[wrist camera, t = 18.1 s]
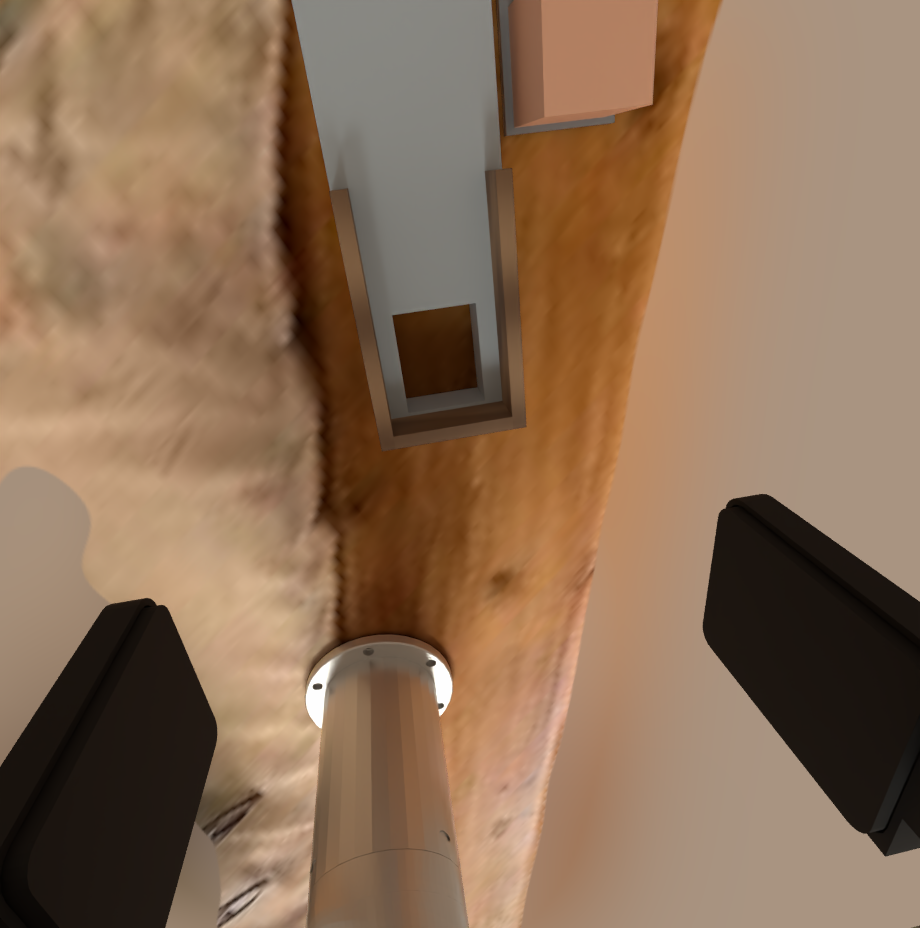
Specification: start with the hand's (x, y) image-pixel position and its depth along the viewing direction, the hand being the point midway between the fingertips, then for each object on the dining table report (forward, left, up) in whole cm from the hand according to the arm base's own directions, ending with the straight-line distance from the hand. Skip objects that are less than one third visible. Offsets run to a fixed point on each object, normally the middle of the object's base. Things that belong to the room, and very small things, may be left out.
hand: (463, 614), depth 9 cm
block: (+11, -10, -26) cm, 30 cm away
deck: (+4, -2, -26) cm, 27 cm away
